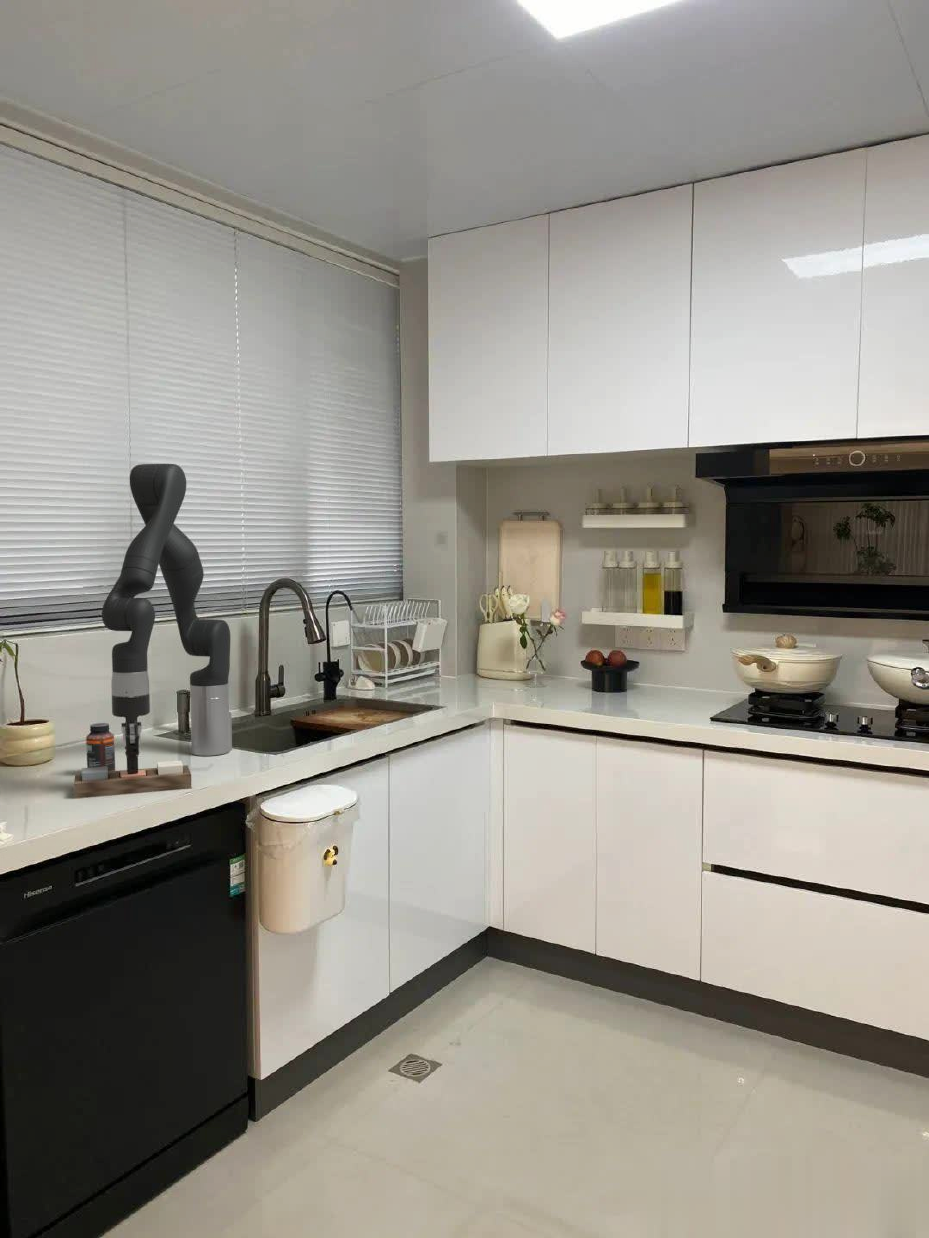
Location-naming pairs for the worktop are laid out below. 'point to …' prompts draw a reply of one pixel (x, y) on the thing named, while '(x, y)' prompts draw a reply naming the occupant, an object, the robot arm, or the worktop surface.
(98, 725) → the supplement bottle
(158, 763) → the cream key
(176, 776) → the key console
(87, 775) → the slate key
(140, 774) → the terracotta key
